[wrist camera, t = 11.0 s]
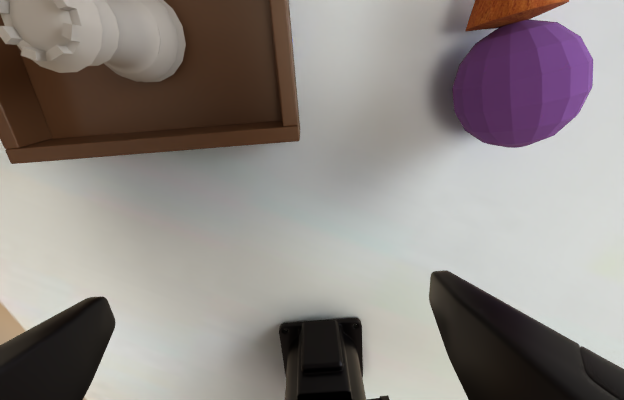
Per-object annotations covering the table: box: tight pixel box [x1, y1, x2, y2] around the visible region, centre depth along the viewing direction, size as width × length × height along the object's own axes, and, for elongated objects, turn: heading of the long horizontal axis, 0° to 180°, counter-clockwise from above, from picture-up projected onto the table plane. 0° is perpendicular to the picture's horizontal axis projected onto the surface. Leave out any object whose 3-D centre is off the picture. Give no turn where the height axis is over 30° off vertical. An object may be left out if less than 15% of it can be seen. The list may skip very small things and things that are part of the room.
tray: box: [0, 0, 300, 164], centre depth 17 cm, size 12×16×3 cm
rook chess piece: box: [0, 0, 186, 82], centre depth 14 cm, size 4×4×8 cm
